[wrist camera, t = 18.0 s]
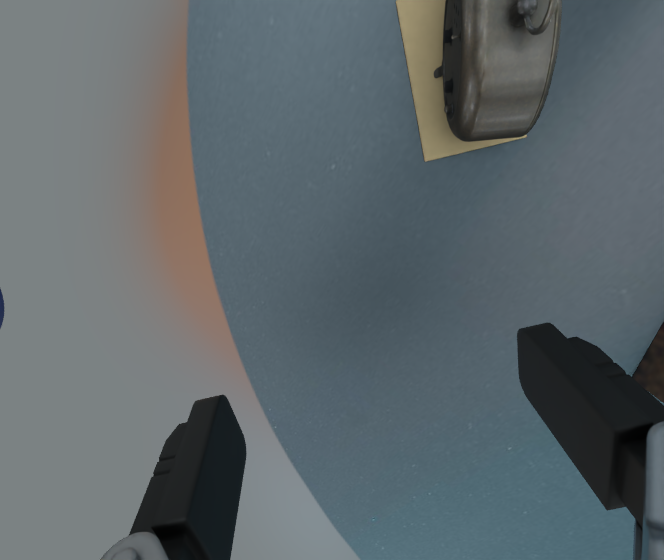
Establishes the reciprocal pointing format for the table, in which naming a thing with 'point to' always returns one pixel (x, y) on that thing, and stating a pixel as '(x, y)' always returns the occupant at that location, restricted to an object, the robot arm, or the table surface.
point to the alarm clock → (497, 65)
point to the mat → (430, 78)
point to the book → (653, 367)
